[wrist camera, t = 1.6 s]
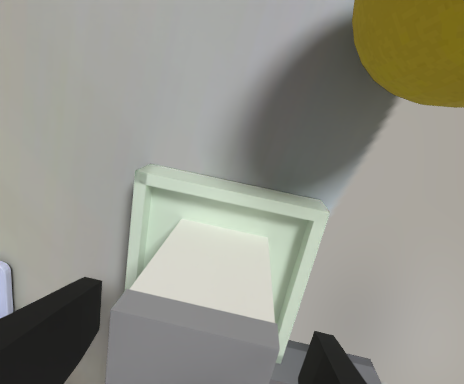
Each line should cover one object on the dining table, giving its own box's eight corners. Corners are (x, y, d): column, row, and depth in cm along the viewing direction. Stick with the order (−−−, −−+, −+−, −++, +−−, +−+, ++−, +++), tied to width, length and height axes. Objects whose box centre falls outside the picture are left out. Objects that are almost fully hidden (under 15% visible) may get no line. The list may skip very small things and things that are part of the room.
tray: (135, 304, 15) (121, 326, 13) (150, 163, 12) (135, 170, 11) (278, 337, 14) (280, 363, 13) (320, 200, 12) (329, 212, 11)
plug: (169, 292, 13) (102, 427, 8) (180, 217, 12) (110, 309, 6) (250, 310, 13) (243, 462, 7) (269, 236, 12) (279, 349, 6)
